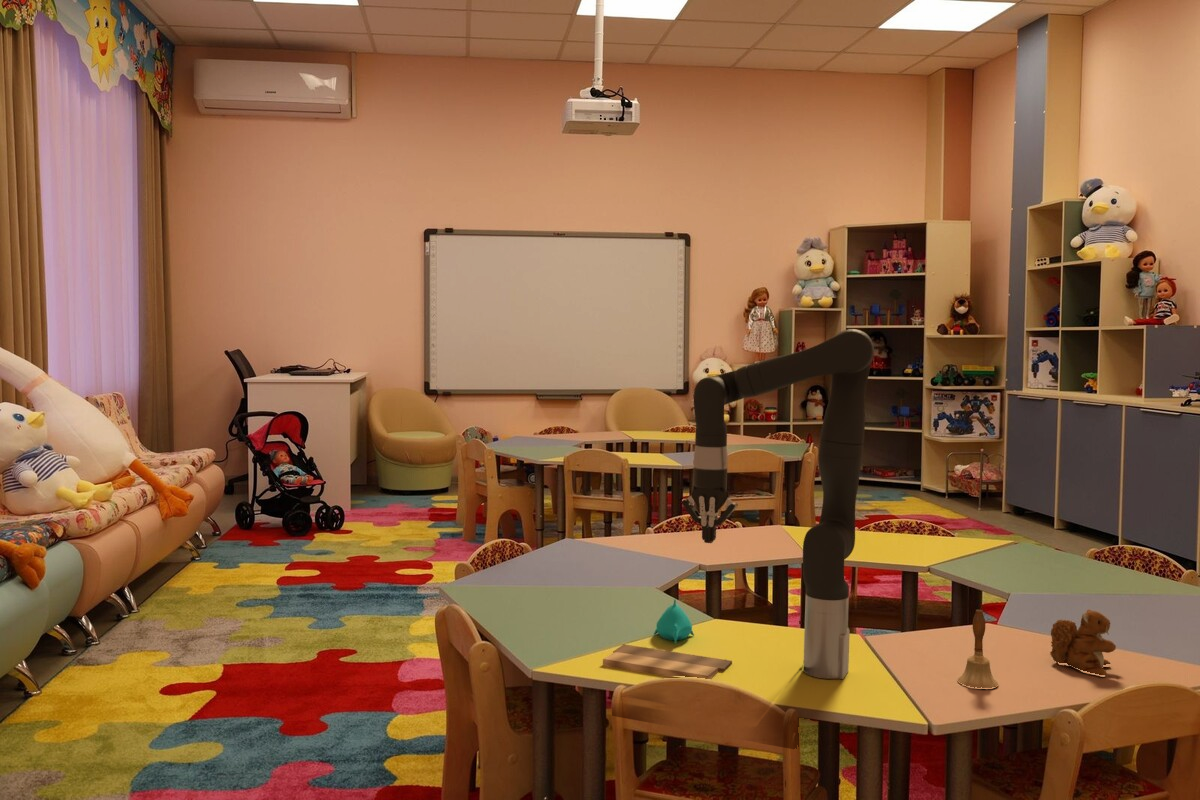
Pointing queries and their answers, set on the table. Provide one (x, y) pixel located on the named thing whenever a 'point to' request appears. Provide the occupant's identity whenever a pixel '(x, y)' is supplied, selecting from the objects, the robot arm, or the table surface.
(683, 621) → the toy shark
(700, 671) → the plank
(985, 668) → the hand bell
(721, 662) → the base strip
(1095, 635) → the stuffed squirrel
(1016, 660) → the table surface
